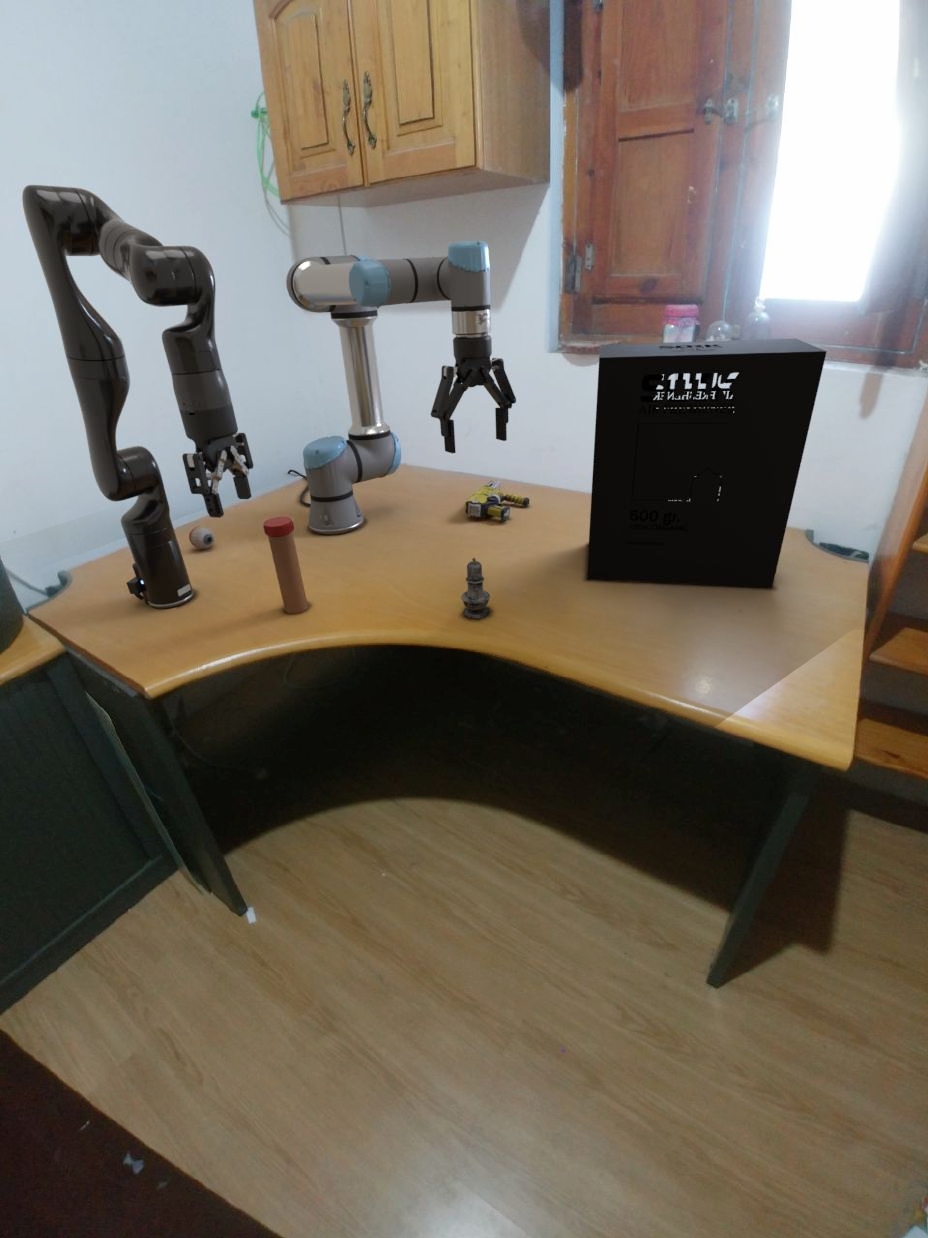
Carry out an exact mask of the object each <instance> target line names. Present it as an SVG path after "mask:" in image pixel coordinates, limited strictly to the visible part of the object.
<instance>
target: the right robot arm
mask: <svg viewBox="0 0 928 1238" xmlns="http://www.w3.org/2000/svg"><path fill="white" fill-rule="evenodd" d="M490 263H491V262H490V252H489V245H488V244H487V242H485V241H484V240H466V241H455V242H451V243H450V244H449V245H448V247H447V256H431V257H430V256H427V257H413V258H411V257H410V258H391V259H390V258H386V259H374V258H370V257H369V256H367V255H358V254H349V255H328V256H326V255H325V256H310V257H305V258H302V259H300V260H298V261H296V262H295V263H293V265H291V267H290V268H289V269H288V272H287V275H286V281H285V282H286V283H285V284H286V285H285V286H286V290H287V293H288V296H289V297H290V299H291V300H292V303H294V304H295V305H296V306H298V307H299V308H300V309H302V310H304V311H306V312H310V313H318V314H319V313H320V314H321V313H330V320H331V321H332V322H333V323H334V324H335V325H336V326H337V327H338V332H339V333H338V334H339V339H340V347H341V355H342V361H343V369H344V375H345V382H346V383H345V384H346V389H347V396H348V404H349V410H350V418H351V425H350V426H349V428H348V430H347V436H348V439H345V437H343V436H341V435H332V436H324V437H321V438H318V439H315V440H312V441H311V442H309V443H308V444H306V445H305V446H304V448H303V450H302V457H303V459H302V460H303V467H304V471H305V475H304V474H303V473H300V472H299V471H297V470H296V469H289V470H288V471H287V474H288V475H290V474H291V473H294V474H296V475H297V476H299V477H302V478H303V479H306V481H307V485H306V487H305V488H304V489H303V491H302V492H301V494H300V496H299V502H300V503H301V504H302V505H304V506H307V507H309V513H308V528H309V529H308V530H310V531H311V532H312V533H314V534H317V535H323V536H324V535H325V536H327V535H329V536H331V535H339V534H340V535H341V534H345V533H350V532H353V531H355V530H357V529H359V528H361V527H362V526H363V525H364V523H365V519H364V514H363V512H362V510H361V508H360V505H359V504H358V501H357V500H356V498H355V495H354V489H353V485H354V484H355V485H356V484H359V483H363V482H368V481H371V480H375V479H381V478H385V477H387V476H390V475H392V474H394V473H396V472H397V470H398V469H399V467H400V465H401V462H402V446H401V443H400V441H399V437H398V436H397V435H396V434H395V432H394V431H391V426H390V425H388V423H386V422H385V420H384V419H385V418H384V410H383V402H382V393H381V385H380V377H379V368H378V367H379V366H378V358H377V349H376V341H375V331H374V324H375V322H376V320H377V319H378V317H379V314H378V309H379V308H381V307H385V306H394V305H403V304H405V305H406V304H417V303H419V304H420V303H427V302H428V303H429V302H444V301H448V302H449V301H450V311H451V313H450V314H451V315H450V316H451V334H453V335H454V337H453V339H452V350H453V358H454V359H455V363H454V366H452V365H442V366H441V373H440V374H441V375H440V376H441V377H440V381H439V384H438V388H437V390H436V395H435V398H434V401H433V404H432V407H431V411H430V416H431V418H435V419H438V421H439V426H440V435H441V437H443V441H444V442H443V443H444V452H446V453H450V454H456V433H455V420H454V419H451V418H452V416H453V414H454V413H455V410H456V409H457V406H458V404H459V402H460V401H461V399H462V397H463V396H464V393H465V392H466V391H468V389H469V388H474V387H477V386H478V387H482V386H483V387H484V389H485V390H486V391H487V392H488V394H489V396H491V398H492V399H493V401H494V402H495V403H496V405H497V406H498V407H495V408H494V410H495V411H494V413H495V414H494V415H495V439H496V440H499V441H502V442H507V441H508V438H507V435H508V433H507V424H509V410H510V409H512V407H513V404H516V403H517V398H516V394H515V393H514V390H513V388H512V385H511V383H510V380H509V378H508V375H507V373H506V370H505V363H504V362H505V361H504V359H503V358H499V357H493V358H491V356H492V354H493V346H492V344H493V343H492V340H493V339H492V336H491V335H489V333H491V332H492V315H491V314H492V312H491V311H492V309H491V264H490ZM491 370H492V374H493V376H494V378H493V376H492V375H491ZM455 377H456V378H455ZM454 378H455V380H454ZM495 381H496V383H497V384H496V383H495ZM307 491H308V492H309V498H310V503H309V502H305V500H303V498H304V495H305V493H306V492H307Z"/></svg>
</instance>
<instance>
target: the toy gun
mask: <svg viewBox="0 0 928 1238" xmlns="http://www.w3.org/2000/svg"><path fill="white" fill-rule="evenodd" d="M530 500H531V499H530V497H527V496H526V497H525V496H524V497H523V496H521V495H520V496H519V495H517V494H516V495H514V494H511V493H506V494H505V495H504V493H503V491H501V482H500V481H499V480H496V481H495V480H490V481H489V482H488V483H487V484H485V485H483V487H482V488H480V489H479V490H478V491H477V492H476V493H474V494H473V495H472V497H470V498H469V499H468V500H467V501H465V504H464V513H465V515H466V516H469V517H470V518H473V519H476V518H485V517H489V516H492V517H497V518H500V521H501V522H503V521H505V520H507V519H509V518H510V514H511V513H510V512H511V506H510V505H506V506H504V505H503V504H502V503H503V502H506V503H511V504H513V503H514V504H515V505H516V504H517V505H521V506H524V507H528V506H529V505H530Z"/></svg>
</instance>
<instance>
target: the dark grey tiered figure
mask: <svg viewBox="0 0 928 1238" xmlns="http://www.w3.org/2000/svg"><path fill="white" fill-rule="evenodd" d="M471 560H472V561H471ZM471 560H470V562H468V563H467V565H466V574H467V575H466V576H467V577H466V578H465V582H466V583H467V589H466V591H464V592H463V593H462V594H461V596H460V599H461V600H462V602H463V605H464V606H465V608H464V609H463V615H464V616H465V617H467V618H469V619H481V618H485V617H487V616H488V615H489V614H490V609H489V608H488V607H487V606H488V604H489V602H490V599H491V594H490V592H489V591H487V590H484V581H485V577H484V576H483V566H482V563H481V562H480V561H477V560H476V557H473V558H472V559H471Z"/></svg>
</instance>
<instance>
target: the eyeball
mask: <svg viewBox="0 0 928 1238" xmlns="http://www.w3.org/2000/svg"><path fill="white" fill-rule="evenodd" d="M188 539H189V542H190V544H191V545H192V546H193V547H194V548H196V549H198V550H206V549H208V548H210V547H212V545H213V544H214V541H215V535H214V533H213V531H212V529H210V528H209V527H207V526H205V525H198V526H195V527H194V528H192V529H191V530H190V532H189V535H188Z"/></svg>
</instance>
